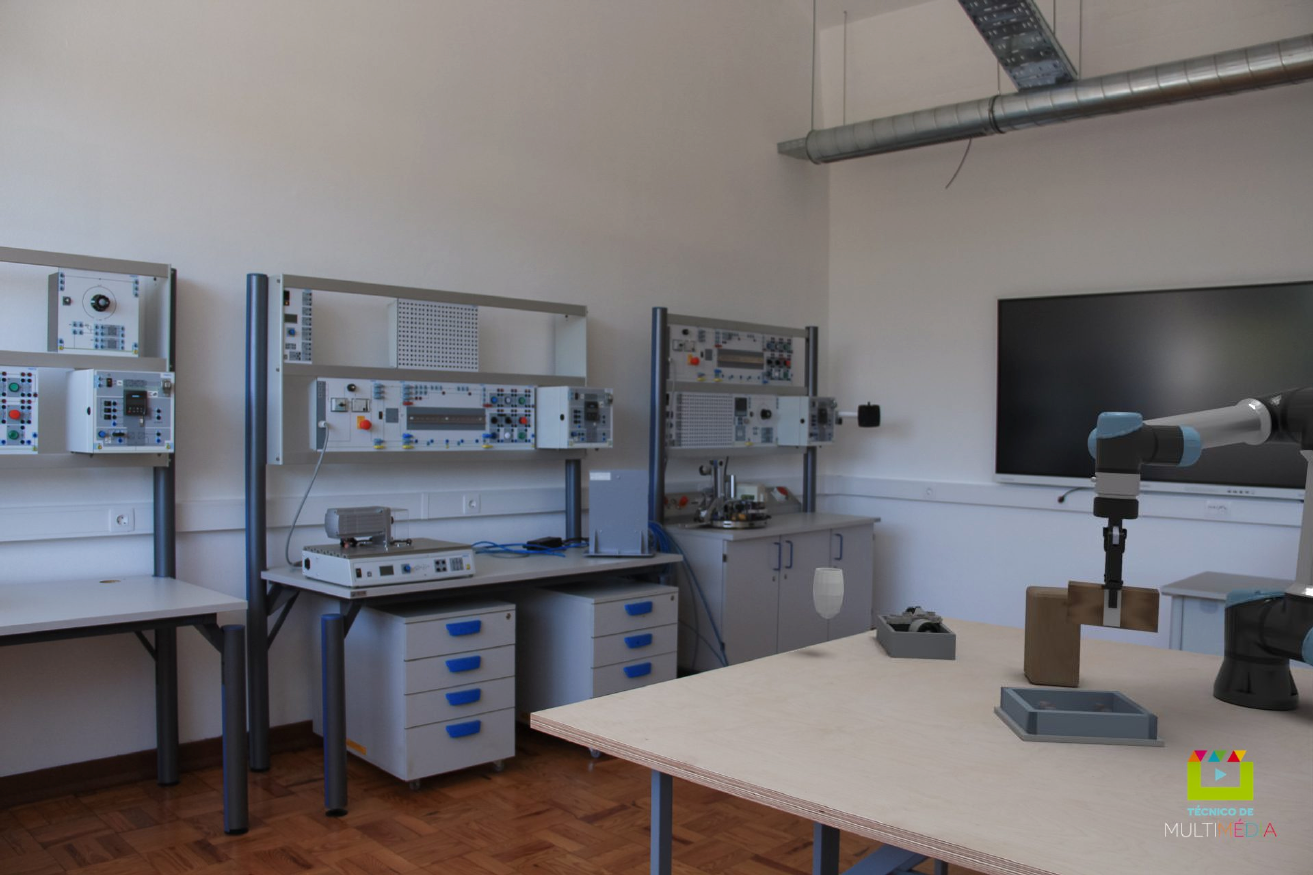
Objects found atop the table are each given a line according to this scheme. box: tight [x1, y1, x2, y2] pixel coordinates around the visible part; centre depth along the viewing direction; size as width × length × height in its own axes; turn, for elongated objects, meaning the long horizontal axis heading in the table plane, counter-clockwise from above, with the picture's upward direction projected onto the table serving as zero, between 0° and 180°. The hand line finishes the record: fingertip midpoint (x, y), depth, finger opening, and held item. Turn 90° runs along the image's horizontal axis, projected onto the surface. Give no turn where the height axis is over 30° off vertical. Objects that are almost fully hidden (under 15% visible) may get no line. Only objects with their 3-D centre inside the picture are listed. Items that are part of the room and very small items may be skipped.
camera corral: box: [875, 614, 957, 661], centre depth 245 cm, size 15×22×6 cm
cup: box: [812, 567, 845, 620], centre depth 234 cm, size 7×7×21 cm
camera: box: [886, 605, 944, 633], centre depth 245 cm, size 16×9×10 cm, turn 106°
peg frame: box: [993, 686, 1165, 747], centre depth 181 cm, size 24×18×5 cm
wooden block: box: [1023, 585, 1082, 688], centre depth 216 cm, size 10×10×20 cm
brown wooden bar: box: [1066, 580, 1161, 634], centre depth 180 cm, size 15×6×7 cm, turn 66°
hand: (1110, 622), depth 180 cm, fingers closed on brown wooden bar, 6 cm apart
